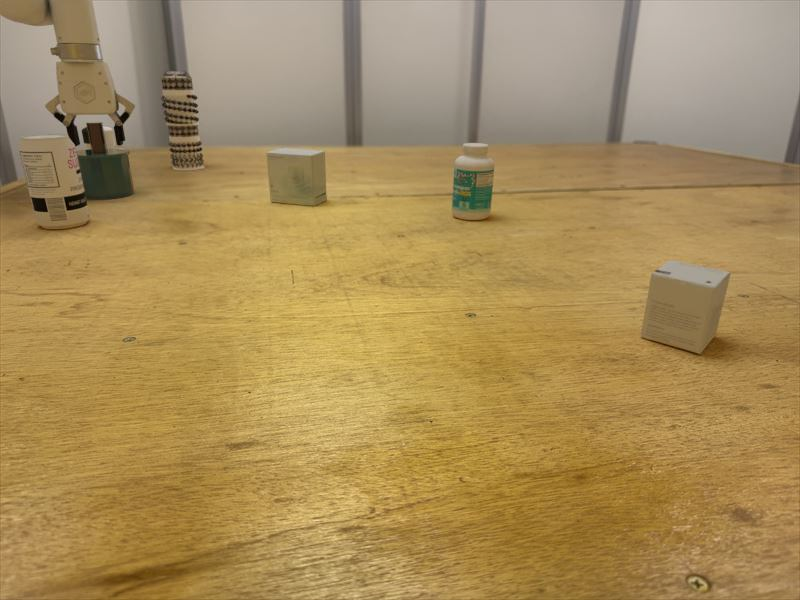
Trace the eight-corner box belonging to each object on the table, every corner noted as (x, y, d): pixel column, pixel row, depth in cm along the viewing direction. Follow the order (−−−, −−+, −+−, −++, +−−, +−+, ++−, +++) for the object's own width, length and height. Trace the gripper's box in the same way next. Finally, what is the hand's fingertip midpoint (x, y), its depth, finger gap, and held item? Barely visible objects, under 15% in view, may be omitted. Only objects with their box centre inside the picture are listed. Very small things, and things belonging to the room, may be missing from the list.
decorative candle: (198, 164, 160) (186, 71, 150) (211, 168, 153) (199, 71, 144) (166, 167, 154) (151, 71, 145) (178, 171, 148) (164, 71, 138)
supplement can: (31, 223, 97) (9, 135, 92) (82, 216, 103) (64, 132, 97) (44, 232, 92) (21, 140, 86) (97, 224, 97) (79, 136, 92)
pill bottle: (444, 214, 108) (447, 142, 102) (475, 210, 111) (480, 141, 106) (465, 223, 101) (470, 147, 96) (498, 219, 105) (504, 145, 99)
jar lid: (63, 162, 111) (55, 125, 108) (78, 154, 121) (71, 120, 118) (124, 160, 114) (118, 124, 111) (134, 153, 124) (128, 119, 121)
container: (81, 184, 130) (69, 127, 125) (105, 179, 137) (94, 124, 132) (109, 186, 128) (98, 128, 123) (132, 180, 135) (122, 125, 130)
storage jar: (75, 200, 115) (66, 158, 111) (87, 190, 124) (79, 152, 121) (129, 198, 117) (122, 157, 114) (137, 188, 126) (131, 151, 123)
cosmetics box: (269, 202, 115) (265, 151, 111) (284, 196, 121) (281, 147, 117) (314, 206, 112) (311, 154, 108) (328, 200, 118) (326, 150, 114)
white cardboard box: (716, 336, 59) (733, 271, 56) (699, 356, 55) (717, 286, 52) (657, 320, 62) (670, 258, 60) (637, 337, 58) (651, 271, 55)
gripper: (25, 53, 104) (47, 148, 111) (125, 55, 109) (140, 146, 115) (38, 54, 111) (58, 144, 118) (131, 55, 115) (145, 142, 122)
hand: (98, 144), depth 116 cm, fingers open, 7 cm apart
